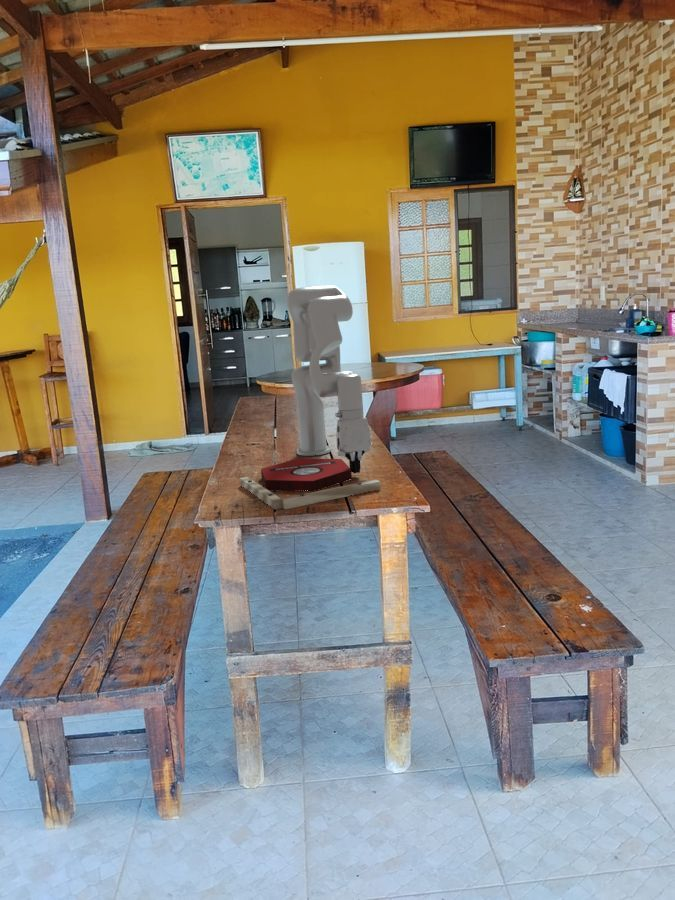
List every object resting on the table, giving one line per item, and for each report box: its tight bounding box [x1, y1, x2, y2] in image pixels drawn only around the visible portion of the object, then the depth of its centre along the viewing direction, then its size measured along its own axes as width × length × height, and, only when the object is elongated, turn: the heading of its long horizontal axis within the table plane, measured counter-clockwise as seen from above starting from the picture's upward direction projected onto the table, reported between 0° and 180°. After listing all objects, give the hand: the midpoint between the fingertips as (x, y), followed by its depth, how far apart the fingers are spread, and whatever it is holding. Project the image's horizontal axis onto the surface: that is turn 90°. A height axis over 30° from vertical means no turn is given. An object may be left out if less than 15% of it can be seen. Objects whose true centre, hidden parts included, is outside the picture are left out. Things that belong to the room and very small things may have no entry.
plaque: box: [260, 458, 353, 492], centre depth 231 cm, size 27×4×30 cm
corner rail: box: [239, 476, 381, 510], centre depth 221 cm, size 32×32×3 cm
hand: (355, 472), depth 229 cm, fingers closed
